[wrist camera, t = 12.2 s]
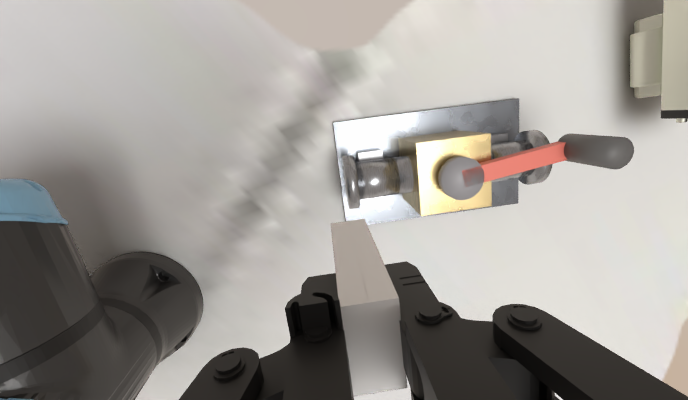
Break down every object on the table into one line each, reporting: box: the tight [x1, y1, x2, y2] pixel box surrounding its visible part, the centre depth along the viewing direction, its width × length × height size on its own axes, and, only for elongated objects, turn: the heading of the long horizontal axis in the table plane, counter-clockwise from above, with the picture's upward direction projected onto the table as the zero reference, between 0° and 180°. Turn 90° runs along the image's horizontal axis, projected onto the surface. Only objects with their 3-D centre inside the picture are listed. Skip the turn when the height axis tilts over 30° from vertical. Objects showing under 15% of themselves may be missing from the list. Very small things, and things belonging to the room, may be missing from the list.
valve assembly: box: [333, 99, 552, 225], centre depth 39 cm, size 24×14×10 cm, turn 97°
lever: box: [438, 134, 634, 200], centre depth 32 cm, size 16×4×6 cm, turn 104°
